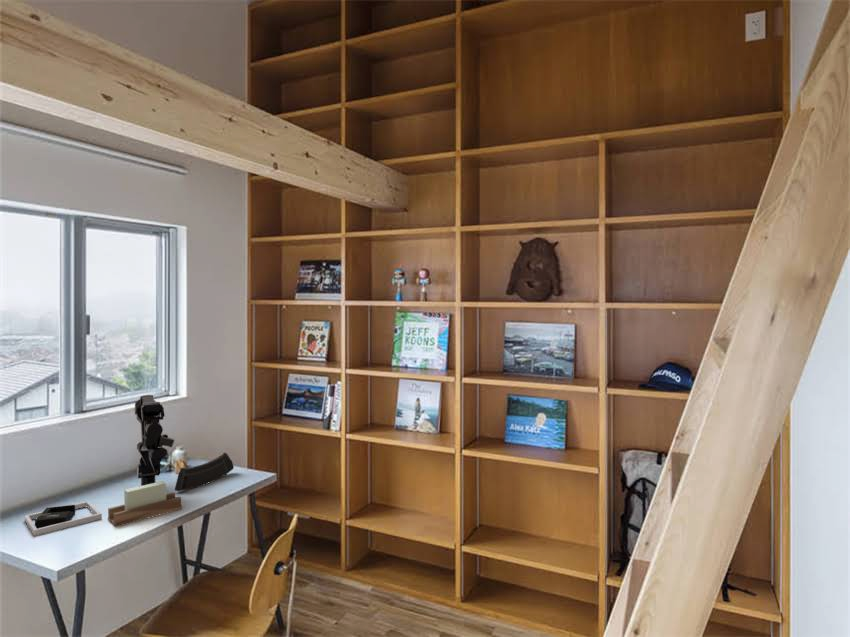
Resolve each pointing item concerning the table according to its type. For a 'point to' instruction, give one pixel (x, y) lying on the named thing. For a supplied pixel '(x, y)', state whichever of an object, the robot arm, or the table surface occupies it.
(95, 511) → the grey frame
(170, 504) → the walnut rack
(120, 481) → the table surface
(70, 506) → the battery charger
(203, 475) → the magazine
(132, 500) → the green book
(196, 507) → the table surface
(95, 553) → the table surface
